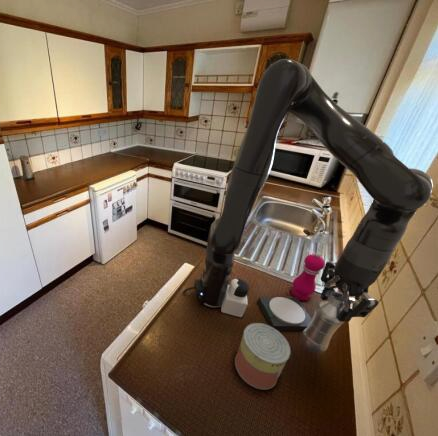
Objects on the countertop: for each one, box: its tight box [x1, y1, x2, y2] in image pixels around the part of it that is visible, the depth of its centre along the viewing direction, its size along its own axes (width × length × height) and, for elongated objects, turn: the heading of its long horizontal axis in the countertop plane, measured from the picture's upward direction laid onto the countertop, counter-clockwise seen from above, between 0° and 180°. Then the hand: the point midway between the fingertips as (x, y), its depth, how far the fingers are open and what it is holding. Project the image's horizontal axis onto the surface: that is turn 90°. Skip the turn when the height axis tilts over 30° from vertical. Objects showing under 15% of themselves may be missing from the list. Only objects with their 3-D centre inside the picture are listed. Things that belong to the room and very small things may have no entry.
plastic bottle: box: [300, 290, 345, 355], centre depth 64 cm, size 6×7×20 cm
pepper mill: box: [290, 252, 326, 301], centre depth 87 cm, size 7×7×20 cm
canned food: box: [234, 322, 292, 391], centre depth 65 cm, size 11×11×12 cm
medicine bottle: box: [220, 278, 250, 318], centre depth 83 cm, size 7×7×12 cm
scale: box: [257, 296, 313, 332], centre depth 83 cm, size 14×12×3 cm
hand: (333, 309), depth 61 cm, fingers closed on plastic bottle, 6 cm apart
